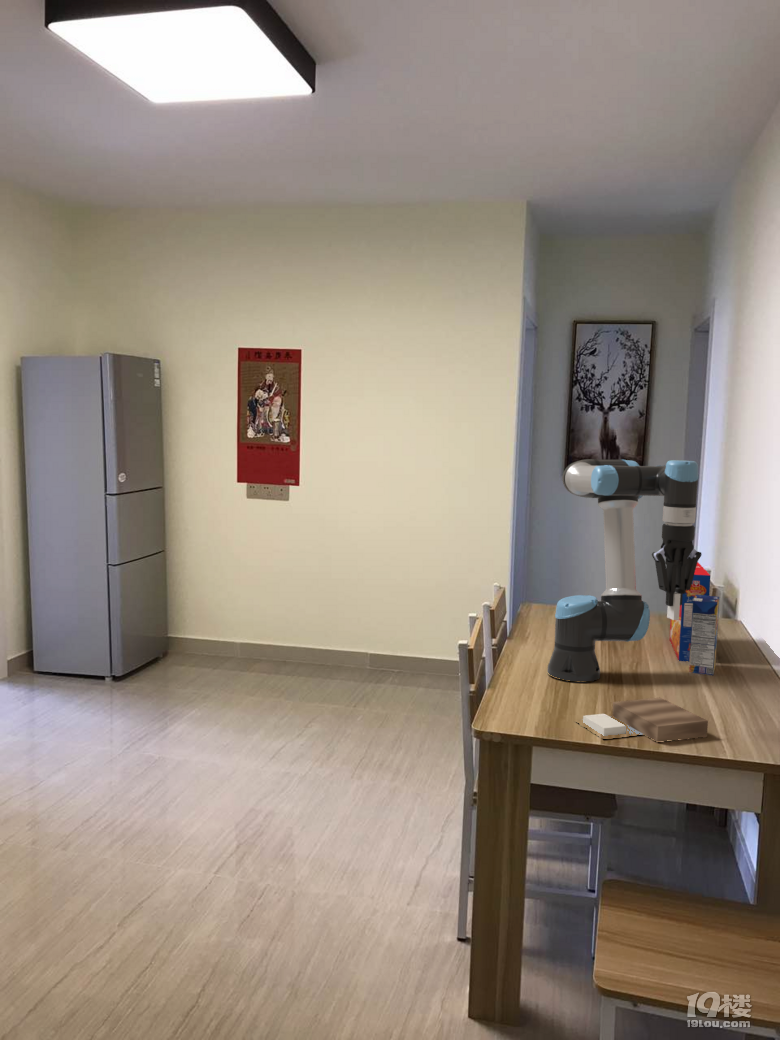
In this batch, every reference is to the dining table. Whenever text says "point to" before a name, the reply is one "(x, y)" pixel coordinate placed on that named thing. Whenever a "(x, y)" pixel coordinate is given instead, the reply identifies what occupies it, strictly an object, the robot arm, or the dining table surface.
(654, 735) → the brown wooden slab
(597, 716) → the white rectangular block
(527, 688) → the dining table surface
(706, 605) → the beverage box
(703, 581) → the red blue cereal box
